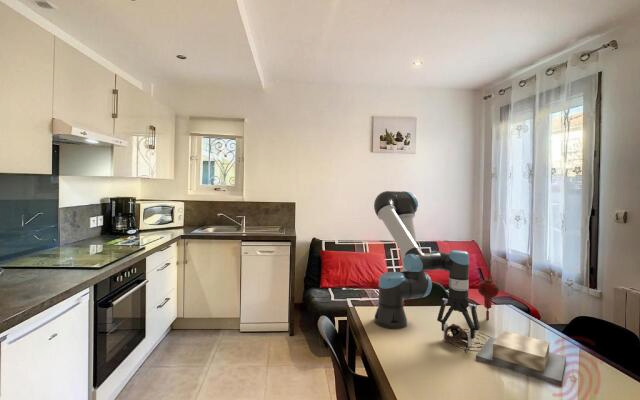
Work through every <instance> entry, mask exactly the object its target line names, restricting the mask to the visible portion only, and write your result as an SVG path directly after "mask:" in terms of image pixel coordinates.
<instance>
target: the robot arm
mask: <svg viewBox="0 0 640 400" xmlns="http://www.w3.org/2000/svg"><path fill="white" fill-rule="evenodd" d="M418 207H419V201H418V199H417V196H416V195H415V194H414V193H412V192H410V191H405V190H403V191H396V190H395V191H390V190H386V191H382V192H380V193H378V195H377V196H376V198H375V199H374V204H373V210H374V212H375V214H376V216H377V218H378V219H379V220H381V221H382V222H383V224H384V226H385V227H386V229H387V231H388V232H389V234H390V235H391V237H392V238H393V240H394V241H395V244H396V245H397V246H398V248H399V251H400V257H401V258H400V259H401V265H402V268H401V270H399V271H388V272H384V273H382V274H381V275H380V276H379V280H378V306H377V308H376V311H375V315H374V324H376V325H377V326H379V327H382V328H386V329H403V328H405V327H407V325H408V319H407V315H406V312H405V308H404V305H405V304H404V303H405V302H404V301H405V300H406V301H407V300H414V299H421V298H425V297H427V296H429V295H430V293H431V290H432V289H433V288H432V287H433V284H432V283H433V282H432V279H431V277H430V275H429V274H428V273H426V272H427V271H440V270H442V271H445V272H448V273H449V275H448V287H449V288H448V298H445V297H443V298H441V299H440V307H439V311H438V315H437V319H436V321H437V322H439V323H441V332H443V337H444V336H445V332H444V331H445V329H446V328H447V327H448V326H449V323H448V322H447V321H448V319H449V318H450V316H451V315H452V313H453V311H455V312H459V313H461V314H462V315H463V317H464V319H465V321H466V323H467V326H468V328H469V329H468V330H467V331H468V332H467V335H468V342H467V347H468V348H470V347H472V345H473V340H474V339H475V337H476V335H475V333H476V332H477V331H479V330H480V328H481V326H480V321H479V317H478V314H477V313H478V312H477V307H478V306H477V304H473V303H470V302H469V288H470V287H469V286H470V285H469V283H470V282H469V281H470V280H469V278H470V277H469V274H470V273H469V272H470V255H469V252H468V251H464V250H456V249H455V250H453V249H452V250H450V251H449V253H447V252H444V251H440V250H432V251H430V252H423V251H422V249H421V248H420V246H419V245H418V244H417V237H416V232H415V224H414V221H413V220H414V217H416V216H415V215H416V214H415V213H417V211H418ZM425 271H426V272H425ZM447 304H448V305H449V307H448V310H447V312H446V314H445V315H444V312H445V310H446V309H445V308H446V305H447ZM468 308H469V310H470V312H471V316H472V317H471V316H470V313H469V311H468ZM471 318H472V319H471ZM448 332H449V330H448V331H447V335H449V333H448ZM443 341H445V339H444V338H443Z"/></svg>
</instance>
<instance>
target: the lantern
mask: <svg viewBox="0 0 640 400" xmlns="http://www.w3.org/2000/svg"><path fill="white" fill-rule="evenodd" d="M477 290H478V291H477V292H479V294H480V295H481V296H482V297H483V298H484V300H483V301H484V303H483V306H484V308H485V309H486V310H485V320H487V321H490V317H489V316H490V310H489V309H491V308H492V300H493V298H496V297H497V296H498V295H499V291H500V290H499V286H498V284H497V283H496V282H494V281H493V279H491V278H490V271H488V277H487V278H485V279H484V280H483V281H481V282H479V284H478V286H477Z"/></svg>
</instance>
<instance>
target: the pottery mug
mask: <svg viewBox="0 0 640 400" xmlns="http://www.w3.org/2000/svg"><path fill="white" fill-rule="evenodd" d="M447 331H448V332H449V331H450V332H451V335H449V334H448V335H447ZM444 332H445V336H444V335H443V340H444V339H445V340H444V342H445V343H452V344H453V343H458V342H460V343H463V341H465V342H467V343H468V332H467V331H466V330H465V329H464V328H462V327H461V326H460V325H459V324H455V323H451V324H450V325H448V327H447V328H446V329H445V331H443V333H444Z"/></svg>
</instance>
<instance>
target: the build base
mask: <svg viewBox="0 0 640 400" xmlns="http://www.w3.org/2000/svg"><path fill="white" fill-rule="evenodd" d="M476 359H477V360H476ZM475 360H476V361H479V360H481V361H480V362H483V361H484V362H483V363H486V364H490V365H493V366H497V367H499V368H503V369H506V370H508V371H509V370H510V371H512V372H515V373H519V374H521V375H526V376H529V377H532V378H535V379H539V380H542V381H544V382H548V383H552V384H554V385H559V386H562V383H563V378H564V373H565V367H566V362H567V361H566V360H567V357H566V356H564V355H562V354H561V355H560V354H556V353H553V352H550V341H546V340H543V339H538V338H534V337H530V336H527V335H522V334H517V333H513V332H511V331H510V332H509V331H506V330H502V331H500V333H499V334H498V336H497V337H496V338H495V337H492V336H489V337H488V339H487V341H486V342H485V343H484V344H483V345H482V347H481V348H480V349H479V351H478V352H477V354H476V355H475Z"/></svg>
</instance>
